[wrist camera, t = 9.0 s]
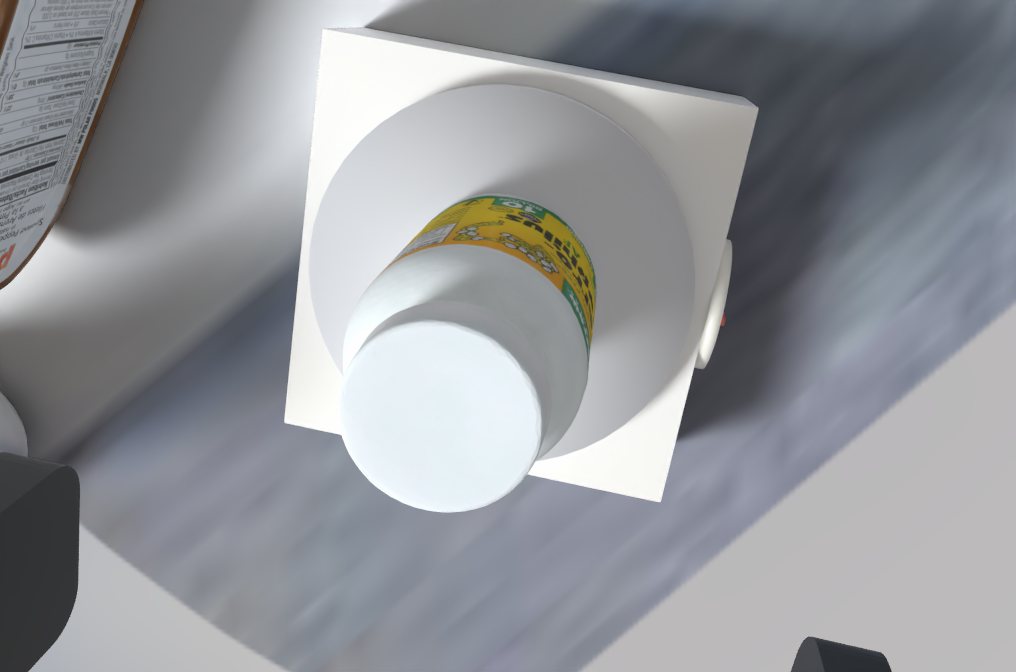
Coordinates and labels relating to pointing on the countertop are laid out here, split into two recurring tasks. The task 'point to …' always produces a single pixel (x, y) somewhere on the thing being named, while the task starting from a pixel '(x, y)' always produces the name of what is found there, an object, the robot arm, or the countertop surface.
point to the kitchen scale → (541, 178)
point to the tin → (50, 108)
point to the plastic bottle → (11, 429)
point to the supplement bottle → (469, 354)
